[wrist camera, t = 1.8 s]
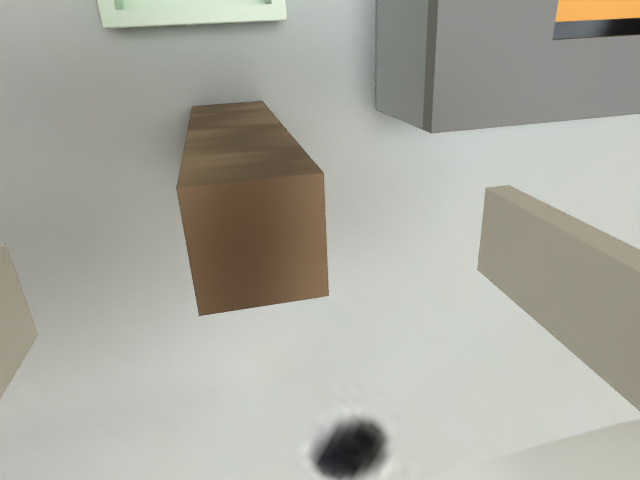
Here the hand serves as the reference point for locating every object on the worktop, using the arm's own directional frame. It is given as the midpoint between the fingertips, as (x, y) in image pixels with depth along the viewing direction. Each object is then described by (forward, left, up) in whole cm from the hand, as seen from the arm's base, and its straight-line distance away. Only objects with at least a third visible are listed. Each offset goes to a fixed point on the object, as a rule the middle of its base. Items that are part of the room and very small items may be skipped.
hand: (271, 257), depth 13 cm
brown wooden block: (0, 0, -17) cm, 17 cm away
